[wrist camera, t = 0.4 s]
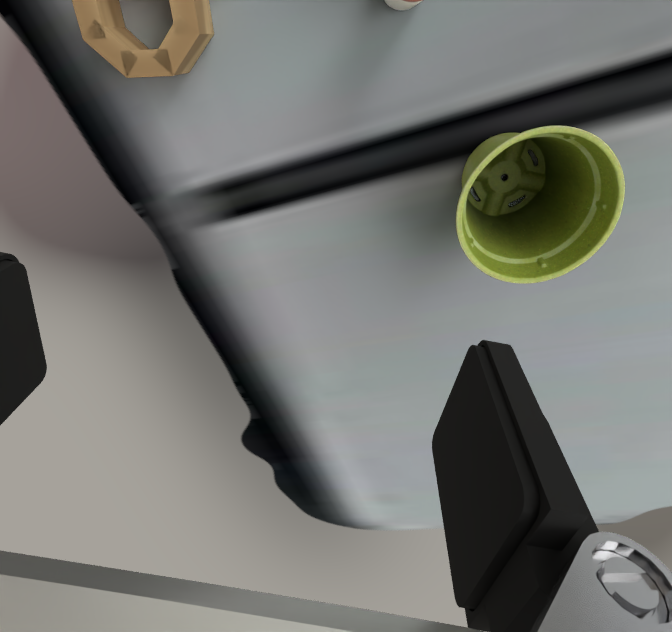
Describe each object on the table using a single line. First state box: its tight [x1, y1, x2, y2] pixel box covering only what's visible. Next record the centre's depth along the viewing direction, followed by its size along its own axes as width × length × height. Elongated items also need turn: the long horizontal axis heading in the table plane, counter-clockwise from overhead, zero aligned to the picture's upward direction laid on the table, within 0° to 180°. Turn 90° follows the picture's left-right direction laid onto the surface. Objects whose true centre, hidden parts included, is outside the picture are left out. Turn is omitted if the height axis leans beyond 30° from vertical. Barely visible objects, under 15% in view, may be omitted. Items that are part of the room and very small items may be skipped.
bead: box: [72, 0, 214, 78], centre depth 28 cm, size 8×8×3 cm
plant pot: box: [456, 126, 625, 283], centre depth 30 cm, size 9×9×9 cm
